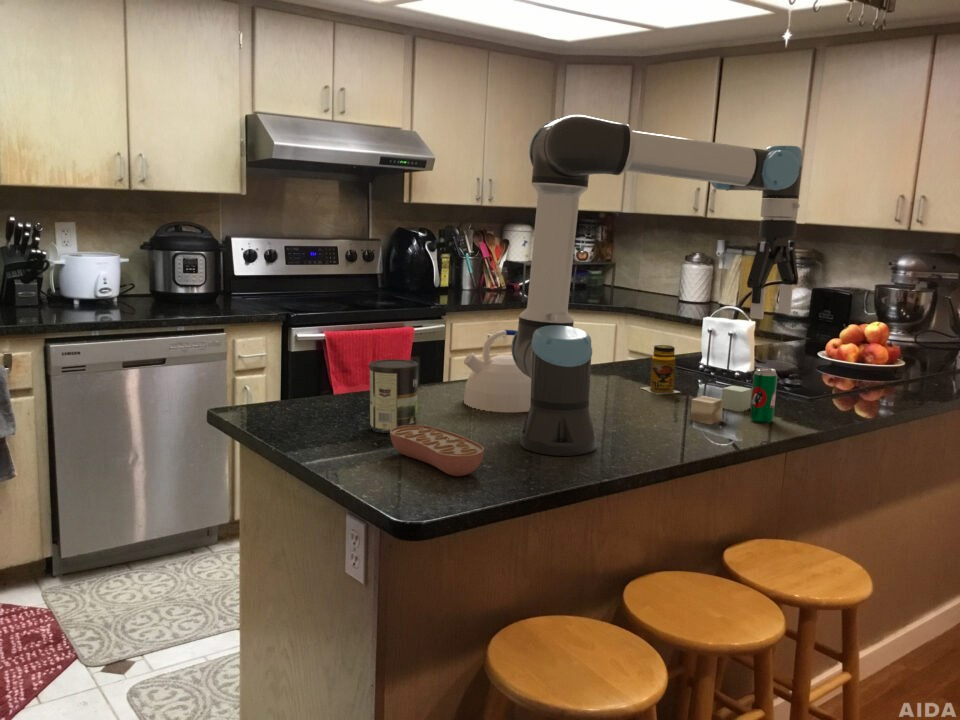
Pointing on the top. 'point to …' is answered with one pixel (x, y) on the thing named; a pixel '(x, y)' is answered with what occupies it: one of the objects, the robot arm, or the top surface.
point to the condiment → (662, 370)
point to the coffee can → (393, 393)
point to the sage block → (736, 398)
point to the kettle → (497, 381)
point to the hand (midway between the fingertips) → (770, 315)
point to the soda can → (763, 395)
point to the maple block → (706, 410)
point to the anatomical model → (438, 448)
